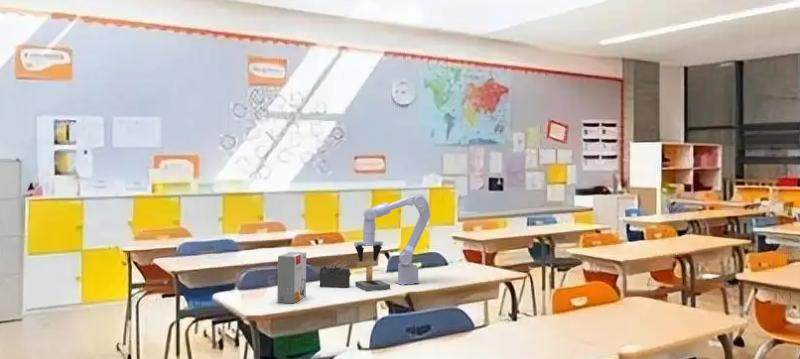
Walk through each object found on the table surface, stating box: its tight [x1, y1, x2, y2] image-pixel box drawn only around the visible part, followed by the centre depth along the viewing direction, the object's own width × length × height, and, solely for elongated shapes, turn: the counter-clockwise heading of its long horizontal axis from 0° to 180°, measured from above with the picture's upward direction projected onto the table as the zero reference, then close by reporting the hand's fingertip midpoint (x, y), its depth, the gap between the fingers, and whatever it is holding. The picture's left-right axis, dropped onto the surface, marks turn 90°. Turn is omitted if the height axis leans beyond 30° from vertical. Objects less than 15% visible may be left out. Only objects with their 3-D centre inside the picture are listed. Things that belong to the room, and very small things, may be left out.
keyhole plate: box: [354, 279, 391, 292], centre depth 324 cm, size 12×14×2 cm
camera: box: [319, 265, 351, 289], centre depth 329 cm, size 14×11×10 cm
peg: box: [365, 265, 373, 281], centre depth 336 cm, size 3×3×8 cm
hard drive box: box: [276, 251, 307, 304], centre depth 296 cm, size 16×8×20 cm, turn 168°
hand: (367, 260), depth 335 cm, fingers open, 7 cm apart
